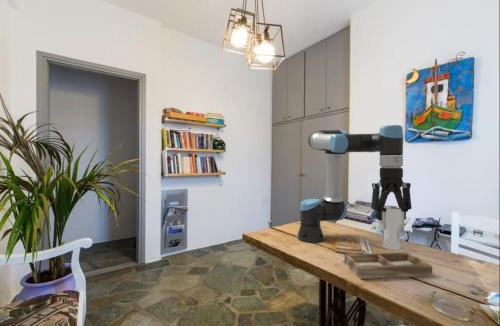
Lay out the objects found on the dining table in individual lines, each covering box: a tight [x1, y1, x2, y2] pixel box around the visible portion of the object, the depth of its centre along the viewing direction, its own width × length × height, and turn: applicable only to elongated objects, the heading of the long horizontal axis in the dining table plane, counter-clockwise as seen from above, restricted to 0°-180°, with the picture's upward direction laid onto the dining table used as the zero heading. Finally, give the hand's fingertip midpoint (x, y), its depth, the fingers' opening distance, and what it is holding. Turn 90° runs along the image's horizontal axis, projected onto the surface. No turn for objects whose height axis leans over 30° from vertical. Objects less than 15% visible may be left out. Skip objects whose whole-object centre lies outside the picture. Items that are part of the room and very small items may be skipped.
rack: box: [344, 251, 433, 280], centre depth 103 cm, size 14×30×4 cm, turn 93°
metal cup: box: [381, 205, 402, 251], centre depth 90 cm, size 7×7×15 cm
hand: (391, 228), depth 90 cm, fingers closed on metal cup, 7 cm apart
